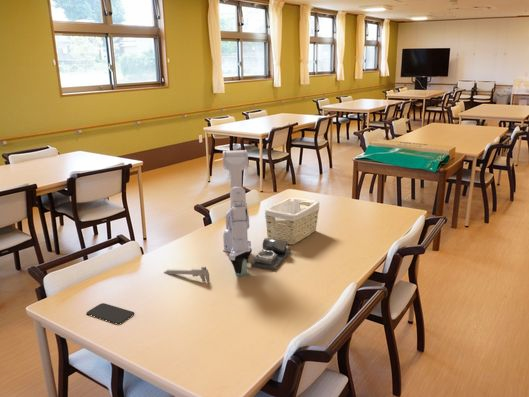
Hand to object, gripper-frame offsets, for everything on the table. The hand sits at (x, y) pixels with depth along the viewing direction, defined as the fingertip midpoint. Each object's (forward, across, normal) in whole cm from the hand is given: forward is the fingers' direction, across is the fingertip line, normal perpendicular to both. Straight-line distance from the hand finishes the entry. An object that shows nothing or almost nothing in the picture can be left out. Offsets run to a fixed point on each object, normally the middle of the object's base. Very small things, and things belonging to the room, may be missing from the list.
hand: (241, 270), depth 170 cm
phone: (+2, -41, +27) cm, 49 cm away
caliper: (+2, -10, +18) cm, 21 cm away
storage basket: (+2, +44, -5) cm, 44 cm away
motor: (+1, +16, -6) cm, 17 cm away
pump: (+1, 0, 0) cm, 1 cm away
